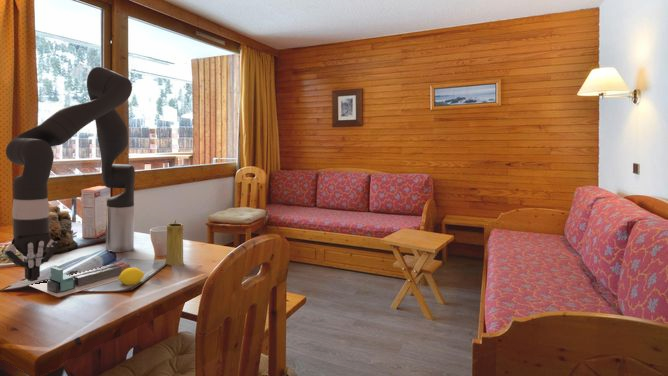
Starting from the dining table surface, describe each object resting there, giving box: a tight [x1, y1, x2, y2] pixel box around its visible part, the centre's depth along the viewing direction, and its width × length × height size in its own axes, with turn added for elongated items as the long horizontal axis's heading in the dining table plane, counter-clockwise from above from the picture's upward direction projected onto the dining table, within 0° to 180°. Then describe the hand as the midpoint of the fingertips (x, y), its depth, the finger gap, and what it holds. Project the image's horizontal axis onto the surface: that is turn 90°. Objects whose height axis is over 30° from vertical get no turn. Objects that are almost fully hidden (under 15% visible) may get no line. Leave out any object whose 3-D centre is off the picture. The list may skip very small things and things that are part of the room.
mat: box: [28, 263, 120, 298], centre depth 121 cm, size 15×25×1 cm, turn 153°
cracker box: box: [80, 185, 111, 239], centre depth 174 cm, size 14×6×21 cm, turn 5°
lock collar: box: [48, 266, 73, 291], centre depth 111 cm, size 3×6×6 cm, turn 62°
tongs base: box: [46, 263, 131, 294], centre depth 119 cm, size 22×4×3 cm, turn 152°
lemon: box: [118, 267, 145, 286], centre depth 120 cm, size 7×5×5 cm
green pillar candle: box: [165, 222, 184, 266], centre depth 141 cm, size 6×6×14 cm
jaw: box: [69, 261, 126, 279], centre depth 122 cm, size 16×2×3 cm, turn 152°
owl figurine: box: [43, 204, 79, 256], centre depth 149 cm, size 18×12×17 cm, turn 12°
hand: (32, 280), depth 105 cm, fingers closed
